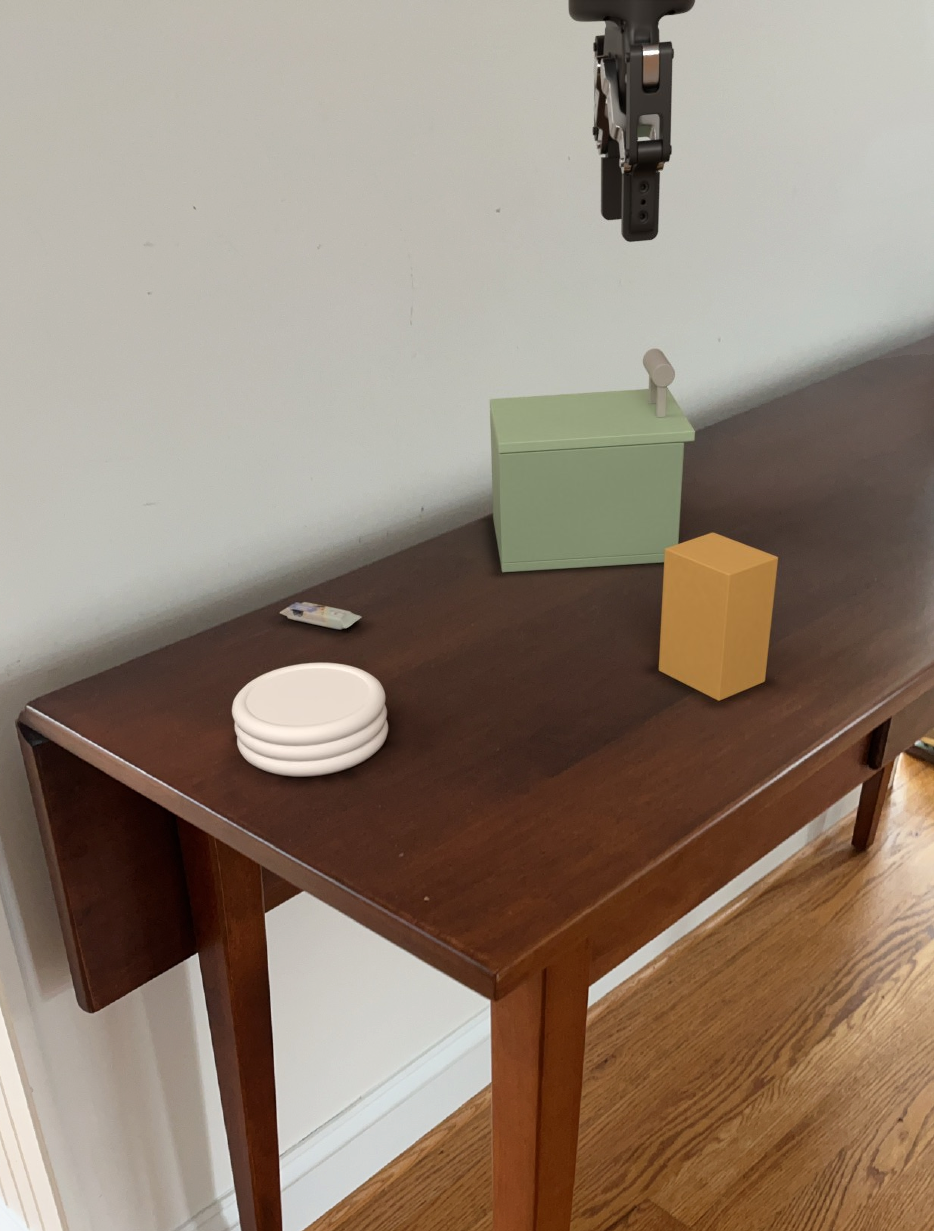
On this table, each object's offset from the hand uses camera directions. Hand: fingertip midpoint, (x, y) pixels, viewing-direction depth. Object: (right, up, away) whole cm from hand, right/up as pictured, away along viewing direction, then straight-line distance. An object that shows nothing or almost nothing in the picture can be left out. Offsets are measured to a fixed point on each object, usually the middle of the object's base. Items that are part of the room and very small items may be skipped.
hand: (628, 228), depth 83 cm
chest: (0, -13, +28) cm, 30 cm away
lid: (0, -5, +22) cm, 22 cm away
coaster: (-21, -34, +1) cm, 39 cm away
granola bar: (-22, -22, +17) cm, 35 cm away
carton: (+7, -28, +6) cm, 30 cm away
